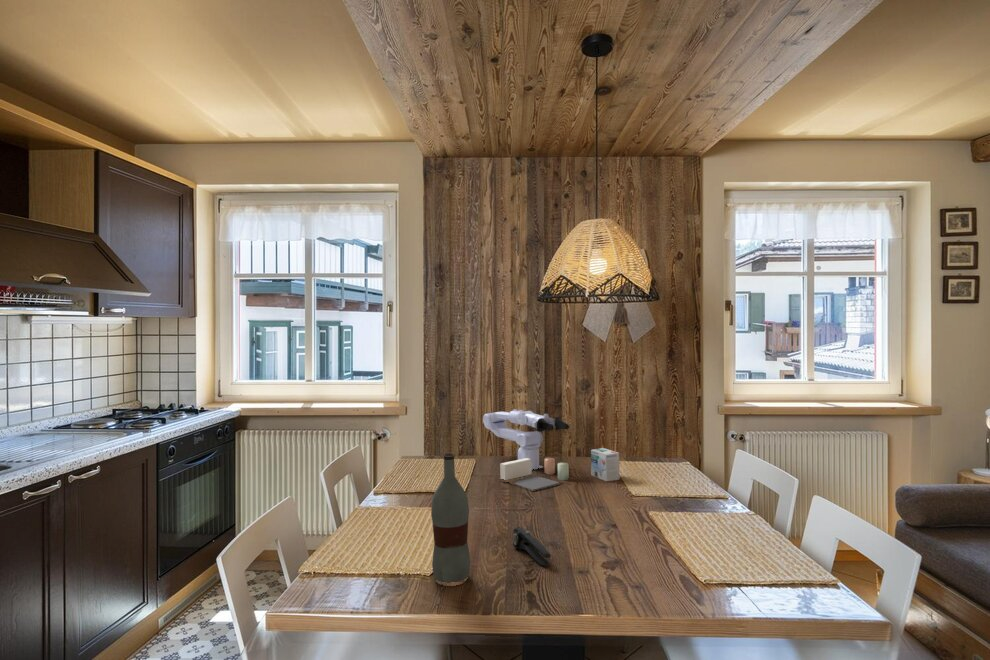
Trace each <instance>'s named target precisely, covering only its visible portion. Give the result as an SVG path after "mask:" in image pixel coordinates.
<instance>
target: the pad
mask: <svg viewBox="0 0 990 660" xmlns="http://www.w3.org/2000/svg"><path fill="white" fill-rule="evenodd" d="M515 484H517V485H519V486H522V487H524V488H527V489H529V490H532V491H534V490H538V491H540V490H539V489H542V490H544V489H543V488H545V489H548V488H547V487H549V488H552V486H553V487H556V485H557V486H560V485H561V483H560V482H559V481H555V480H552V479H548V478H545V477H542V476H539V475H533V476H531V477H527V478H523V479H519V480H516V483H515ZM529 490H528V491H529ZM532 491H531V492H532ZM534 492H535V491H534Z"/></svg>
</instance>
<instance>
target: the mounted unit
mask: <svg viewBox="0 0 990 660" xmlns="http://www.w3.org/2000/svg"><path fill="white" fill-rule="evenodd" d="M499 467H500V469H499V470H500V471H499V473H500V478H499V479H504V480H508V479H513V478H521V477H526V476H531V475H533V476H534V473H532V470H531V459H528V458H524V459H519V460H518V459H516V460H511V461H506V462H502V463H500V464H499Z"/></svg>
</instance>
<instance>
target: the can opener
mask: <svg viewBox="0 0 990 660" xmlns="http://www.w3.org/2000/svg"><path fill="white" fill-rule="evenodd" d="M512 538H513V542H512V545H513V546H514V547H513V548H514V549H517V548H519V549H518V550H521V549H523V550H525V551H526V552H527V553H528V554H529V556H531V558H532V559H533V560H534V561H535V562H536V561H537V562H538V564H539V565H540V566H541V565H542V567H543V566H544V567H543V568H548V567H550V564H549V562H548V561H547V560H546V559H549V558H551V553H550V552H549V550H547V548H546V547H545V546H544V545H543V544H542V542H540V541H539V540H538V539H537V538H536V537H535V536H534V535H532V534H531V531H530V530H529V531H528V530H525V529H524V528H522V527H521V526H516V527H515V528H514V529H513V532H512ZM523 550H522V551H523ZM545 558H546V559H545Z"/></svg>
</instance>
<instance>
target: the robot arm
mask: <svg viewBox="0 0 990 660" xmlns="http://www.w3.org/2000/svg"><path fill="white" fill-rule="evenodd" d="M507 421H509V423H512V424H518V425H519V426H524V425H526V426H529V427H532V428H535V429H536V430H535V431H523V430H520V429H516V428H511V427H508V423H507ZM482 422H483V425H484V427H485V429H487V430H489V431H491V432H492V433H493V434H494V435H495V436H496V437H498V438H502V439H504V440H505V439H506V440H509V441H513V442H516V444H517V445H519V446H520V447H519V448H518V450H517V460H519V459H524V458H528V459H531V471H533V469H534V470H538V468H539V469H542V468H544V466H543V465H540V449H539V448H541V444H542V443H543V439H544V438H543V435H542V433H541V432H544V431H545V432H546V431H549V432H550V431H554V427H555V431H559V430H560V431H561V430H568V424H567V423H566V422H564V421H563V420H562V417H559V416H555V417H554V418H552V417H550V416H549V414H548V413H544V414H543V415H541V414H537V413H534V412H533V410H526V411H524V409H523V410H522V409H520V410H518V409H517V408H516V409H515V408H514V409H512V410H511V411H509V412H507V411H503V410H502V411H496V412H490V413H485V414H484V415H483V417H482Z"/></svg>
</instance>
